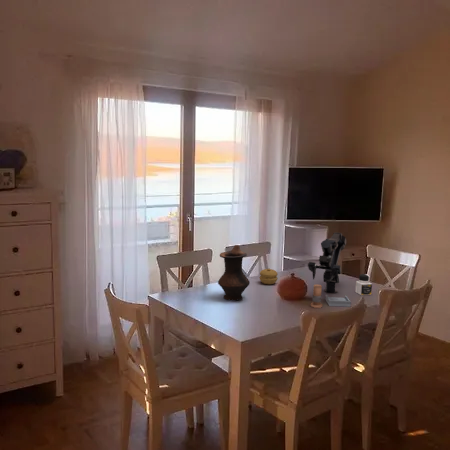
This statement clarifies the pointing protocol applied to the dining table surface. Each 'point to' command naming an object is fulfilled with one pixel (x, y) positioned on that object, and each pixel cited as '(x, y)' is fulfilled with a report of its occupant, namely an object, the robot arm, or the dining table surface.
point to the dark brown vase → (233, 274)
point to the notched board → (338, 301)
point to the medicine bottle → (363, 285)
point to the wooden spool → (317, 296)
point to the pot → (268, 276)
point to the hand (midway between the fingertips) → (321, 280)
